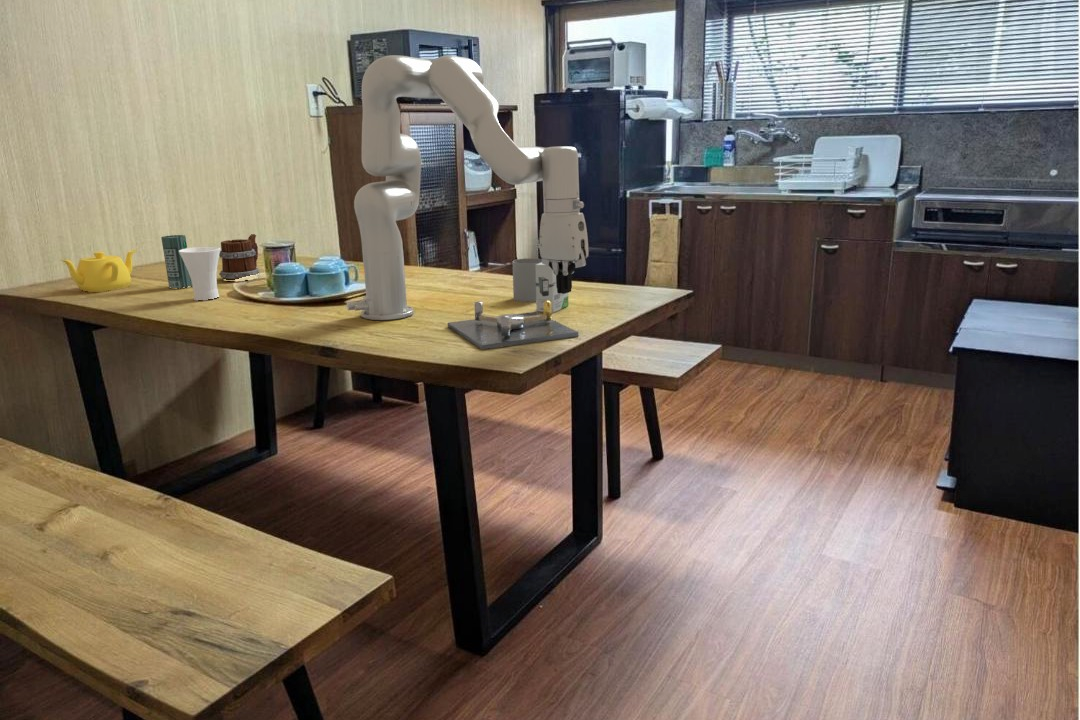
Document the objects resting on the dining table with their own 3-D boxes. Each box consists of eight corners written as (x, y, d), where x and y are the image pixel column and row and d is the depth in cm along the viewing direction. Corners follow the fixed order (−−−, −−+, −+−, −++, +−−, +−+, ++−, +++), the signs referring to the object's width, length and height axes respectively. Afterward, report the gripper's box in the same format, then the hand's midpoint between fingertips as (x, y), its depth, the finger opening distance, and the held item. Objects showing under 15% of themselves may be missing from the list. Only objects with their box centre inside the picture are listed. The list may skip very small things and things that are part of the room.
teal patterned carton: (196, 285, 234) (189, 235, 229) (183, 289, 228) (175, 237, 224) (179, 285, 235) (171, 234, 231) (165, 288, 229) (157, 237, 225)
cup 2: (541, 302, 202) (541, 263, 199) (510, 301, 203) (509, 263, 200) (547, 295, 209) (547, 258, 207) (518, 295, 211) (517, 258, 208)
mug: (209, 281, 238) (208, 231, 236) (240, 281, 252) (240, 233, 250) (241, 283, 235) (241, 232, 233) (271, 282, 248) (271, 234, 246)
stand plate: (482, 349, 159) (482, 344, 159) (447, 326, 178) (447, 321, 178) (578, 336, 168) (578, 330, 167) (535, 315, 187) (535, 310, 187)
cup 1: (221, 293, 222) (215, 245, 218) (231, 299, 213) (224, 249, 210) (182, 298, 216) (174, 249, 212) (190, 304, 208) (183, 253, 204)
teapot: (82, 298, 219) (74, 259, 216) (56, 292, 228) (48, 255, 225) (157, 285, 236) (151, 249, 233) (130, 280, 245) (125, 245, 242)
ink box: (552, 304, 199) (551, 258, 196) (569, 306, 196) (569, 259, 193) (535, 311, 192) (534, 263, 188) (553, 313, 189) (552, 264, 186)
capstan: (503, 337, 163) (502, 315, 162) (474, 320, 178) (473, 300, 177) (568, 328, 169) (568, 307, 168) (535, 313, 184) (534, 293, 183)
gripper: (601, 205, 164) (602, 292, 169) (542, 204, 172) (545, 287, 177) (582, 209, 158) (584, 298, 163) (522, 208, 166) (526, 292, 171)
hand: (564, 292), depth 170 cm, fingers closed
